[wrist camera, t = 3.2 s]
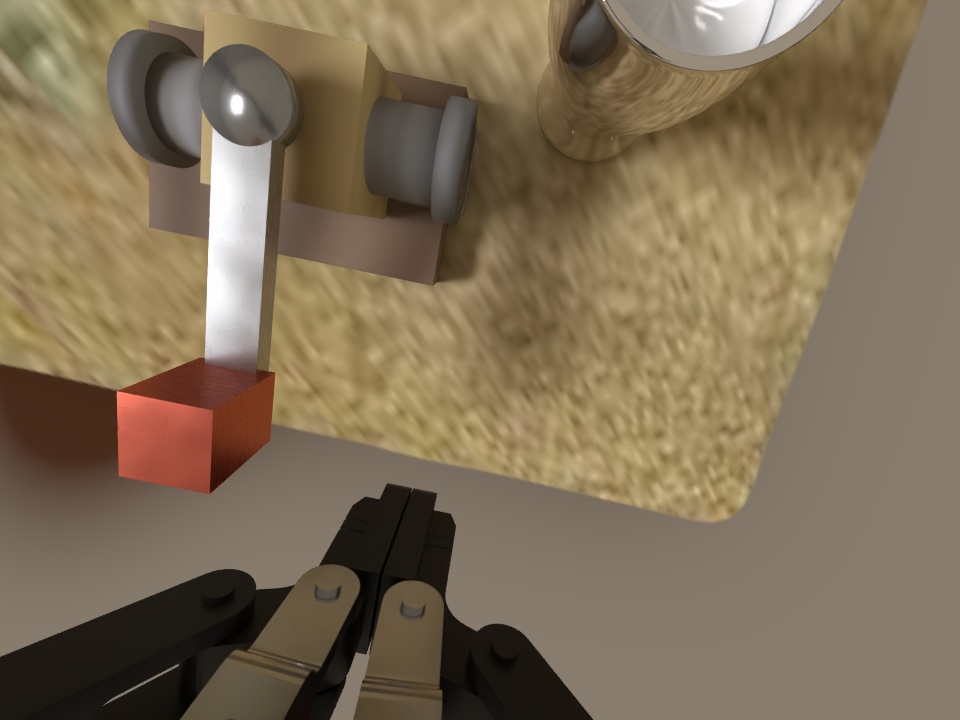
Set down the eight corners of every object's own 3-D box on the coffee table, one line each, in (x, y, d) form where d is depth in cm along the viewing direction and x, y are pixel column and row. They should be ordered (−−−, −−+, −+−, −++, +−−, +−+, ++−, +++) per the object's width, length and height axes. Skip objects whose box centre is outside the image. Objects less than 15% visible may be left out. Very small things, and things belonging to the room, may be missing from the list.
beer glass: (519, 42, 23) (551, -269, 9) (654, 11, 23) (921, -375, 8) (538, 182, 25) (592, 109, 11) (664, 157, 25) (899, 44, 10)
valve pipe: (174, 227, 27) (5, 223, 18) (177, 37, 24) (-22, -85, 15) (453, 285, 27) (430, 310, 18) (487, 103, 24) (479, 22, 15)
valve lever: (222, 50, 15) (107, -28, 11) (308, 68, 15) (228, -3, 11) (208, 430, 19) (119, 489, 15) (277, 443, 19) (208, 507, 15)
